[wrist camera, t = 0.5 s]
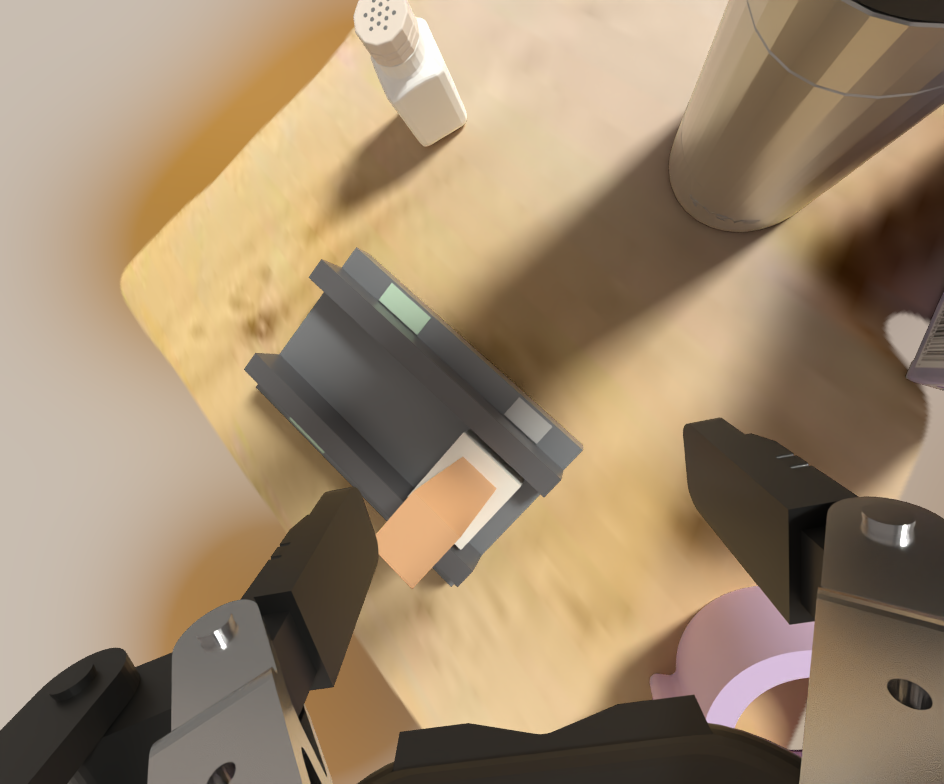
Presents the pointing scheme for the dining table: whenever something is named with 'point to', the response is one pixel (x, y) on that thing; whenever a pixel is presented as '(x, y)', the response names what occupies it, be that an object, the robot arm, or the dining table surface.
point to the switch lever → (447, 507)
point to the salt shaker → (410, 68)
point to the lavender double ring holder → (736, 655)
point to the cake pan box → (930, 353)
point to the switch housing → (404, 399)
